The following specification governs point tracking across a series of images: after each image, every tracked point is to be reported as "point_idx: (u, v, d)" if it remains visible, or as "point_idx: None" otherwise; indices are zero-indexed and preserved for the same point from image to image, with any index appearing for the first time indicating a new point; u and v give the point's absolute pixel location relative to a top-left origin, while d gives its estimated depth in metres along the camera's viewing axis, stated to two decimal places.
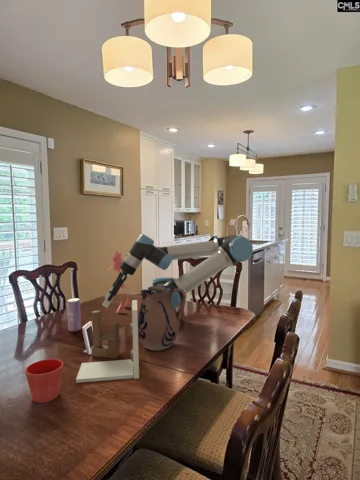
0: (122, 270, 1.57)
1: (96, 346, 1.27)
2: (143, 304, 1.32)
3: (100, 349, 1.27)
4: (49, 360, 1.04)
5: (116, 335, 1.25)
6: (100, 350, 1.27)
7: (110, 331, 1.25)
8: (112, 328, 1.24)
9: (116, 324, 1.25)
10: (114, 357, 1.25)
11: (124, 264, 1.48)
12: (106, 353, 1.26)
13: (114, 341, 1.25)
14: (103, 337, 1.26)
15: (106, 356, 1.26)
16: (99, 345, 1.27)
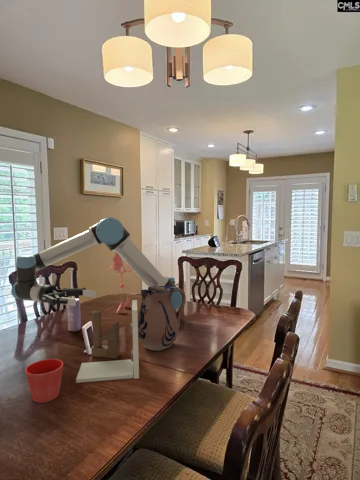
0: None
1: (96, 346, 1.27)
2: (143, 304, 1.32)
3: (100, 349, 1.27)
4: (49, 360, 1.04)
5: (116, 335, 1.25)
6: (100, 350, 1.27)
7: (110, 331, 1.25)
8: (112, 328, 1.24)
9: (116, 324, 1.25)
10: (114, 357, 1.25)
11: (41, 300, 1.34)
12: (106, 353, 1.26)
13: (114, 341, 1.25)
14: (103, 337, 1.26)
15: (106, 356, 1.26)
16: (99, 345, 1.27)
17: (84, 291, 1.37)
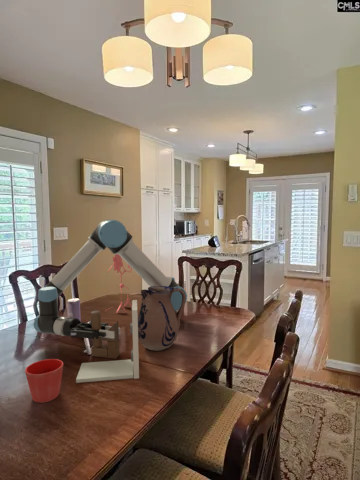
0: None
1: (96, 346, 1.27)
2: (143, 304, 1.32)
3: (100, 349, 1.26)
4: (49, 360, 1.04)
5: (115, 335, 1.25)
6: (100, 350, 1.26)
7: None
8: (111, 328, 1.24)
9: (115, 324, 1.25)
10: (114, 357, 1.25)
11: (65, 335, 1.31)
12: (106, 353, 1.26)
13: (113, 341, 1.24)
14: (103, 337, 1.25)
15: (106, 356, 1.26)
16: (99, 345, 1.27)
17: (107, 327, 1.29)
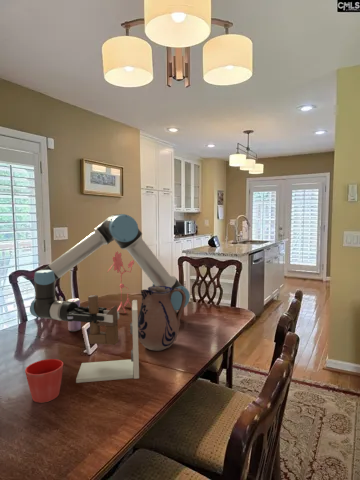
0: None
1: (93, 332, 1.20)
2: (143, 304, 1.32)
3: (98, 335, 1.20)
4: (49, 360, 1.04)
5: (114, 320, 1.19)
6: (98, 337, 1.20)
7: None
8: (110, 312, 1.18)
9: (114, 308, 1.19)
10: (113, 343, 1.19)
11: (62, 319, 1.25)
12: (104, 340, 1.19)
13: (112, 326, 1.18)
14: (100, 322, 1.19)
15: (104, 342, 1.19)
16: (97, 331, 1.21)
17: (105, 312, 1.23)
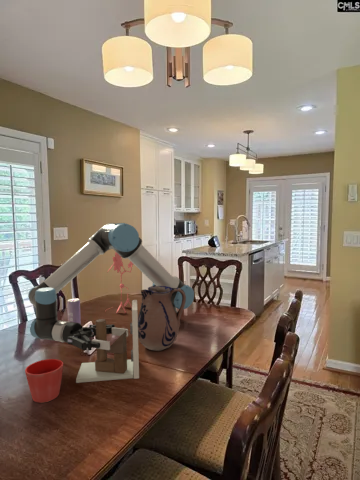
0: None
1: (101, 359, 1.12)
2: (143, 304, 1.32)
3: (105, 363, 1.12)
4: (49, 360, 1.04)
5: (124, 347, 1.11)
6: (105, 364, 1.12)
7: (116, 342, 1.10)
8: (119, 339, 1.10)
9: (124, 334, 1.11)
10: (121, 372, 1.11)
11: (65, 341, 1.17)
12: (112, 368, 1.12)
13: (121, 353, 1.10)
14: None
15: (112, 371, 1.12)
16: (104, 358, 1.13)
17: (113, 329, 1.20)
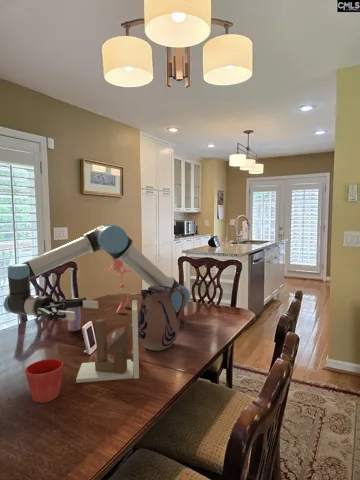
0: None
1: (101, 359, 1.12)
2: (143, 304, 1.32)
3: (105, 363, 1.12)
4: (49, 360, 1.04)
5: (124, 347, 1.11)
6: (105, 364, 1.12)
7: (116, 342, 1.10)
8: (119, 339, 1.10)
9: (124, 334, 1.11)
10: (121, 372, 1.11)
11: (37, 314, 1.20)
12: (112, 368, 1.12)
13: (121, 353, 1.10)
14: (109, 349, 1.11)
15: (112, 371, 1.12)
16: (104, 358, 1.13)
17: (84, 302, 1.24)
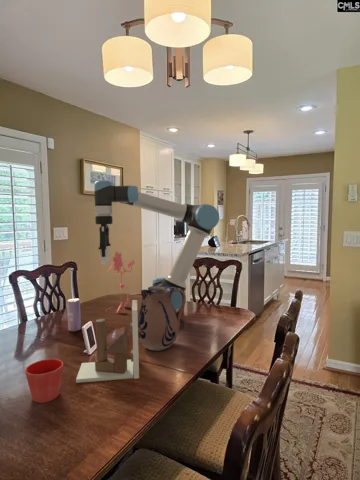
0: None
1: (101, 359, 1.12)
2: (143, 304, 1.32)
3: (105, 363, 1.12)
4: (49, 360, 1.04)
5: (124, 347, 1.11)
6: (105, 364, 1.12)
7: (116, 342, 1.10)
8: (119, 339, 1.10)
9: (124, 334, 1.11)
10: (121, 372, 1.11)
11: (97, 218, 1.42)
12: (112, 368, 1.12)
13: (121, 353, 1.10)
14: (109, 349, 1.11)
15: (112, 371, 1.12)
16: (104, 358, 1.13)
17: (107, 248, 1.53)
